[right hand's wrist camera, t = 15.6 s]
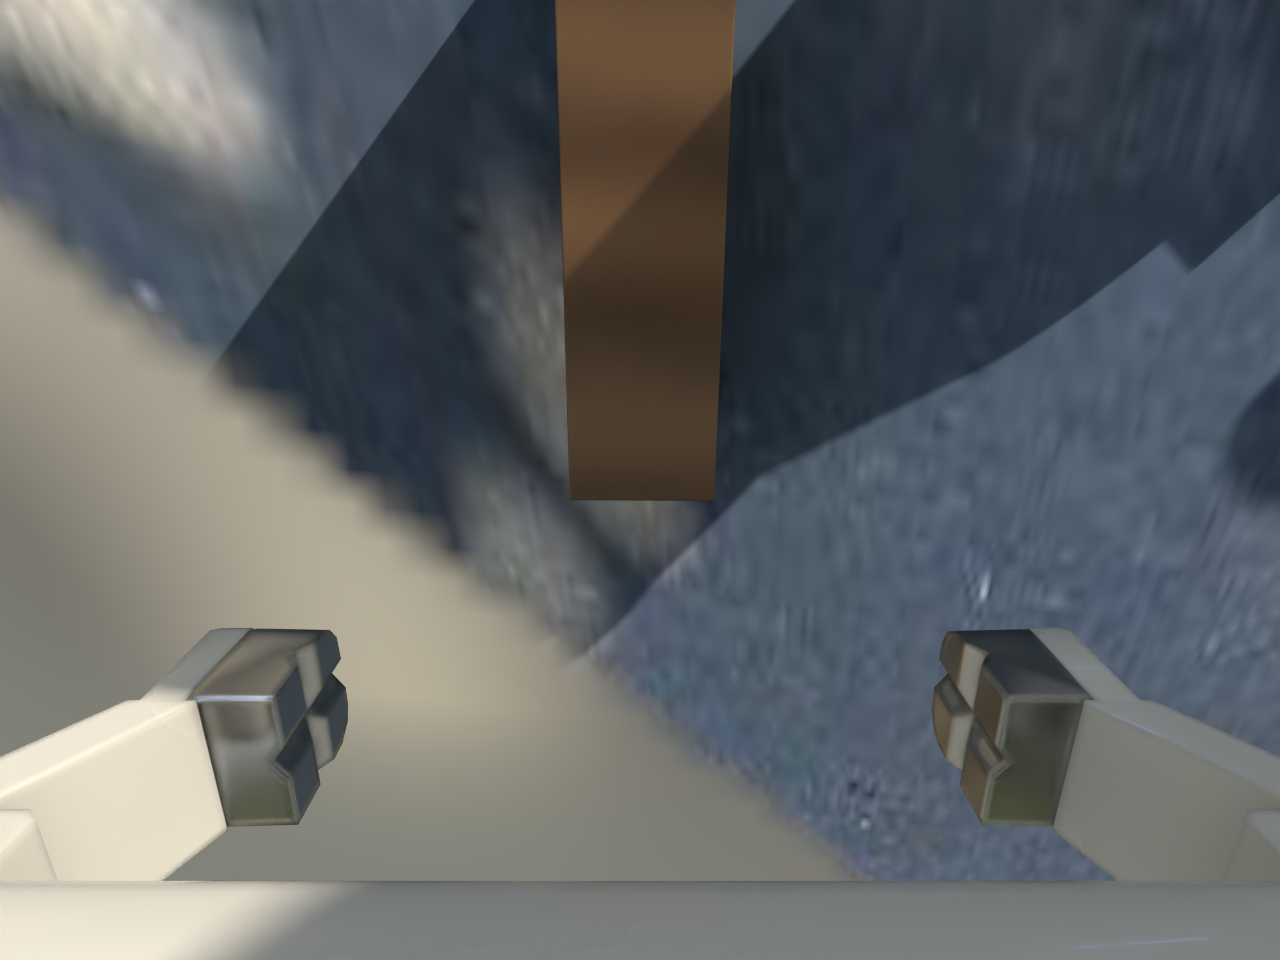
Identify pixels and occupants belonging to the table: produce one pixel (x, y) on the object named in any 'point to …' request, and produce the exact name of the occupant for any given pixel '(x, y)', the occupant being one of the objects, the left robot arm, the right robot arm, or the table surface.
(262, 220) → the table surface
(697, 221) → the bar
